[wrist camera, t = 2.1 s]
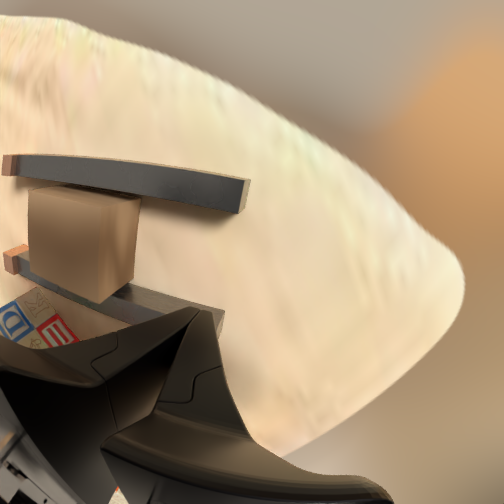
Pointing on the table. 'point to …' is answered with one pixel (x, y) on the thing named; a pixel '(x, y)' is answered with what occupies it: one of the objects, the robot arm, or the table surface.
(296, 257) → the table surface
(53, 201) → the walnut block
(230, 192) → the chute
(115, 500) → the stack of blocks
